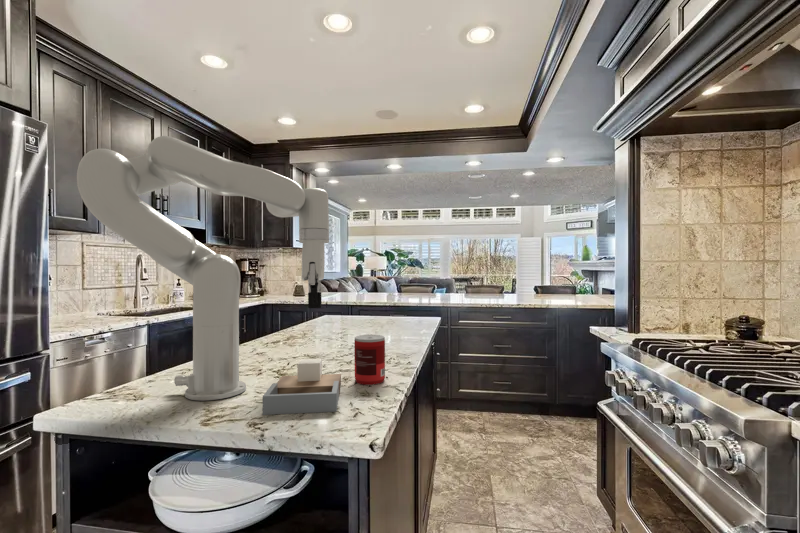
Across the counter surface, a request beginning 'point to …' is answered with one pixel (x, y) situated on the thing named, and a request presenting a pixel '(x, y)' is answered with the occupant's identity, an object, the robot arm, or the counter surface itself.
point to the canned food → (369, 359)
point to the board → (307, 384)
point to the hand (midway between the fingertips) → (314, 307)
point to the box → (300, 401)
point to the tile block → (309, 369)
